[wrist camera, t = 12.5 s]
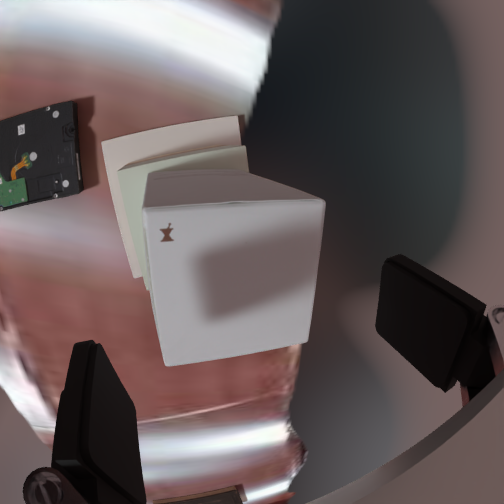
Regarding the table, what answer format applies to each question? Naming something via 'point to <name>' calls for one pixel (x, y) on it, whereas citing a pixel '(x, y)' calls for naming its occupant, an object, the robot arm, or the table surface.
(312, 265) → the supplement box
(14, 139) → the disk drive
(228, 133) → the base board
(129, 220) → the upper block
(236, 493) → the hardcover book
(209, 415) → the table surface
